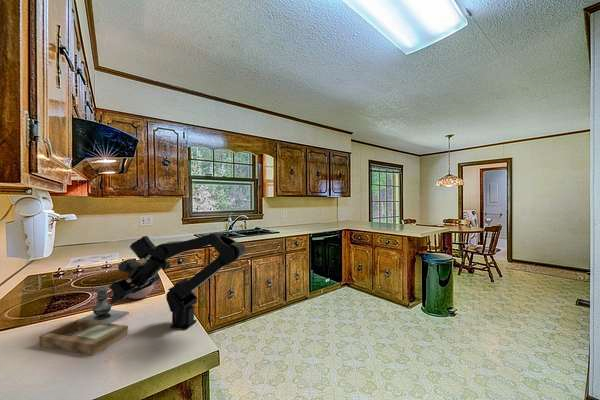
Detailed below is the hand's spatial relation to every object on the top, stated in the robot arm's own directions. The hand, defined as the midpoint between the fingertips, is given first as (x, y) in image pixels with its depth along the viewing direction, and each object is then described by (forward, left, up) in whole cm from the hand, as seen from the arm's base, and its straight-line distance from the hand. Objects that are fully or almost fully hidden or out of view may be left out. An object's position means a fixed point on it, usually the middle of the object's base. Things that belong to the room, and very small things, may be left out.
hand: (121, 297), depth 96 cm
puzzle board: (-1, +14, -8) cm, 16 cm away
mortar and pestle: (+11, -19, -8) cm, 24 cm away
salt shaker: (+8, +1, -8) cm, 11 cm away
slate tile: (+8, +1, -8) cm, 11 cm away
